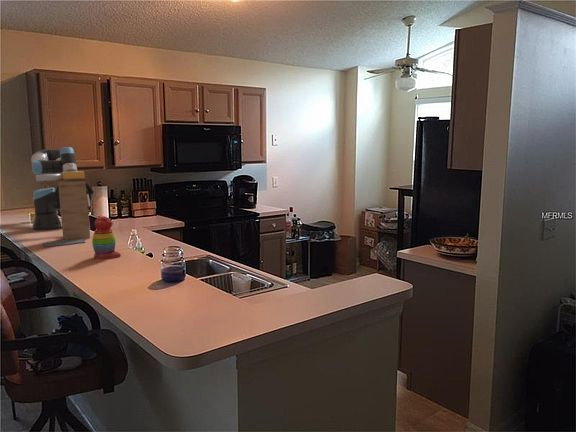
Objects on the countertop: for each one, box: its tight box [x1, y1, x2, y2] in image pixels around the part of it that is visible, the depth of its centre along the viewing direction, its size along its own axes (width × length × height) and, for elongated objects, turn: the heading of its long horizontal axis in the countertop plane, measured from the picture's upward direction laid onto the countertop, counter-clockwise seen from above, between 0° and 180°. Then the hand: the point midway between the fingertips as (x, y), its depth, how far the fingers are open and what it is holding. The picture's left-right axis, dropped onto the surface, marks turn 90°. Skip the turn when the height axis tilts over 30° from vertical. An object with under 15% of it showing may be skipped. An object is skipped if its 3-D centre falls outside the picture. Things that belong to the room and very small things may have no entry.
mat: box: [42, 238, 86, 248], centre depth 236 cm, size 10×18×1 cm, turn 121°
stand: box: [57, 178, 91, 240], centre depth 245 cm, size 8×12×31 cm, turn 121°
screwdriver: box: [35, 170, 86, 182], centre depth 240 cm, size 22×5×5 cm, turn 121°
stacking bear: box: [92, 215, 122, 260], centre depth 205 cm, size 11×10×18 cm
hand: (76, 206), depth 262 cm, fingers open, 13 cm apart
